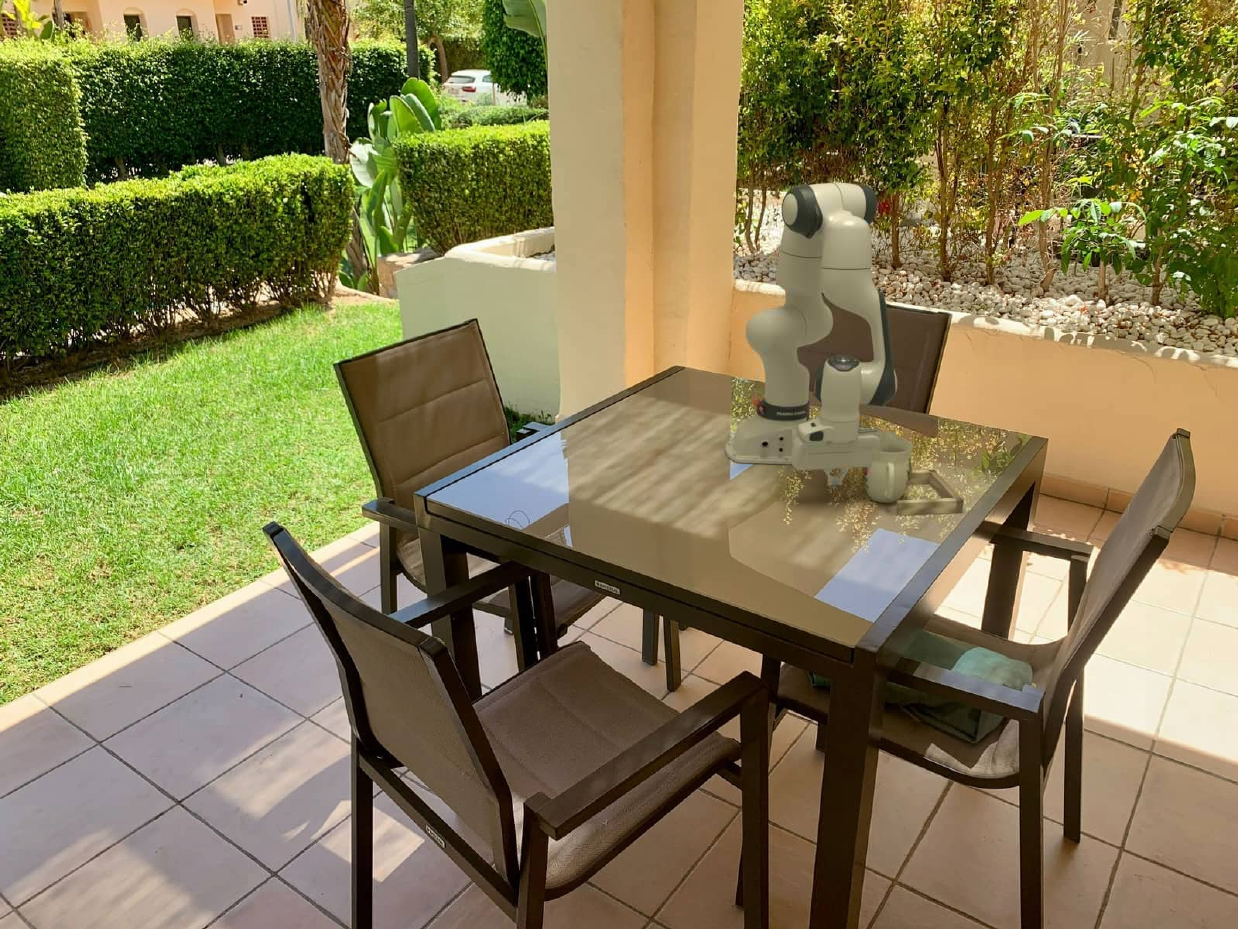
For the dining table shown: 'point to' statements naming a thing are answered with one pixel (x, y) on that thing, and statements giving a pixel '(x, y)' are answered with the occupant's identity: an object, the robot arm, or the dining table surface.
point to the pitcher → (889, 469)
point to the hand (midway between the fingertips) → (834, 484)
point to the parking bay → (931, 506)
